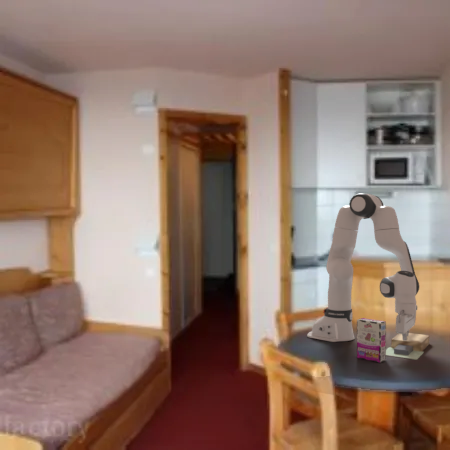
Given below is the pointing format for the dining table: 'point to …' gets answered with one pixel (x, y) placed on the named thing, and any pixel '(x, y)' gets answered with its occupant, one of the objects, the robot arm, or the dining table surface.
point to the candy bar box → (371, 340)
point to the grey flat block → (403, 349)
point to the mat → (412, 355)
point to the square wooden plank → (411, 341)
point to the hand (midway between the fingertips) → (405, 339)
